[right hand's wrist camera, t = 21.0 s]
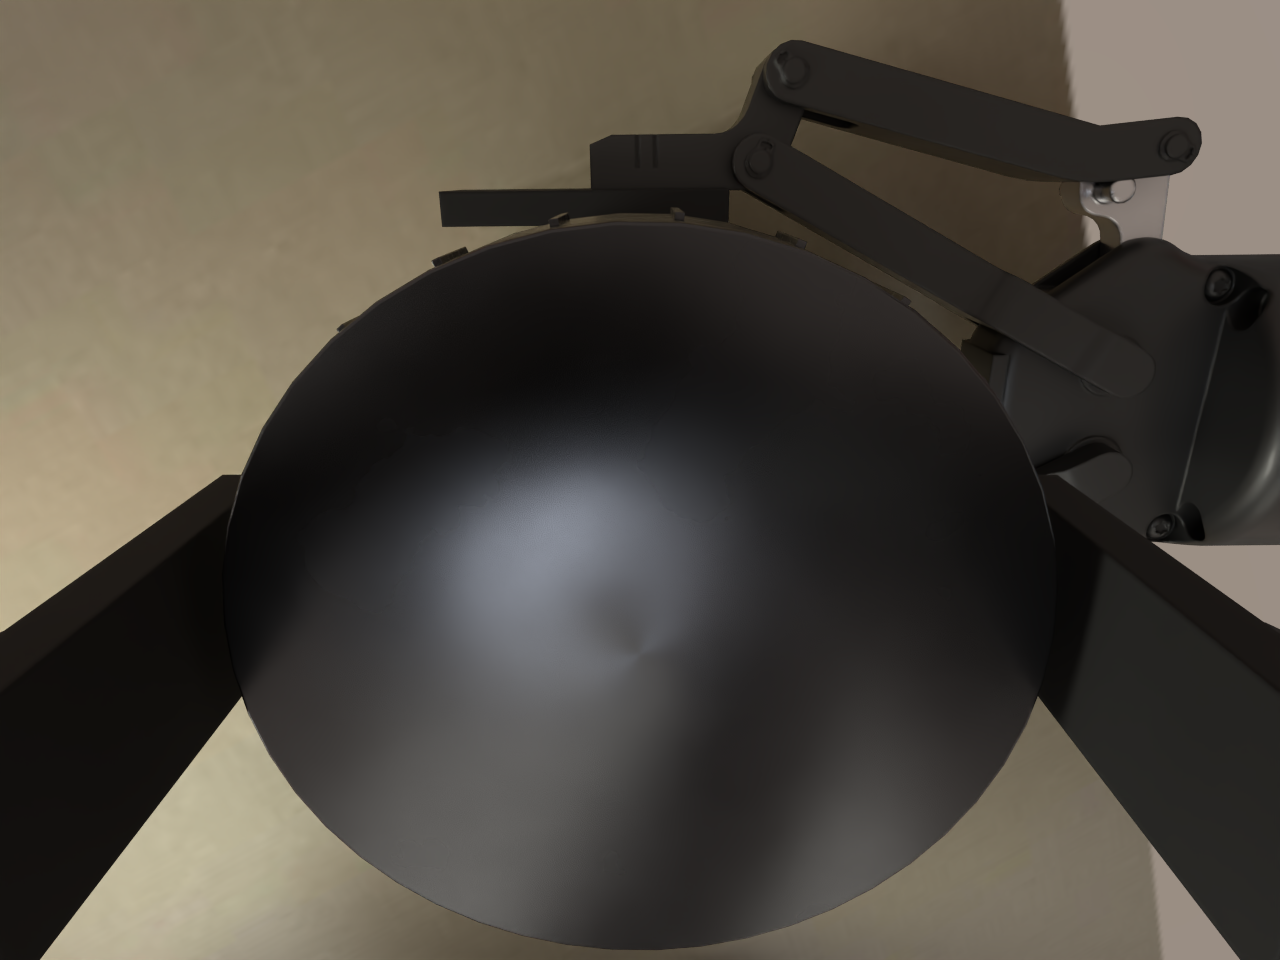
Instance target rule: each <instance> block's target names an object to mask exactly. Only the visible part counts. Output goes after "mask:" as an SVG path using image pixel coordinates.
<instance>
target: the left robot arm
mask: <svg viewBox="0 0 1280 960" xmlns="http://www.w3.org/2000/svg"><path fill="white" fill-rule="evenodd" d="M801 119H803V120H806V121H810V122H813V123H817V124H821V125H824V126H828V127H831V128H835V129H839V130H842V131H846V132H850V133H853V134H857V135H860V136H864V137H868V138H871V139H875V140H878V141H882V142H886V143H889V144H893V145H897V146H900V147H904V148H907V149H911V150H915V151H918V152H922V153H925V154H929V155H933V156H936V157H940V158H944V159H947V160H951V161H954V162H958V163H962V164H965V165H969V166H972V167H976V168H980V169H983V170H987V171H990V172H994V173H998V174H1001V175H1005V176H1009V177H1013V178H1018V179H1023V180H1028V181H1042V182H1061V185H1060V188H1059V193H1060V196H1061V200H1062V202H1063V205H1064V206H1065V207H1066V209H1067V210H1068V211H1070V212H1072V213H1074V214H1080V215H1085V216H1088V217H1090V218H1092V219H1093V220H1094V221H1095V222H1096V223H1097V225H1098V227H1099V230H1100V240H1099V241H1097V242H1095V243H1093V244H1091V245H1090V246H1088V247H1087V248H1085V249H1084V250H1082V251H1081V252H1079V253H1078V254H1076V255H1075V256H1073V257H1072V258H1070V259H1069V260H1067V261H1066V262H1064V263H1063V264H1062V265H1060V266H1059V267H1057V268H1056V269H1054V270H1053V271H1051V272H1050V273H1048V274H1047V275H1045V276H1044V277H1042V278H1041V279H1039V280H1038V281H1036V282H1035V283H1033V284H1032V285H1031V284H1029V283H1028V282H1026V281H1024V280H1022V279H1020V278H1018V277H1016V276H1014V275H1012V274H1010V273H1008V272H1005V271H1003V270H1001V269H999V268H997V267H995V266H994V265H992V264H990V263H989V262H987V261H985V260H983V259H982V258H980V257H978V256H977V255H975V254H973V253H972V252H970V251H968V250H966V249H965V248H963V247H961V246H960V245H958V244H956V243H955V242H953V241H951V240H950V239H948V238H946V237H944V236H943V235H941V234H939V233H938V232H936V231H934V230H933V229H931V228H929V227H927V226H926V225H924V224H922V223H921V222H919V221H917V220H916V219H914V218H912V217H910V216H909V215H907V214H905V213H904V212H902V211H900V210H899V209H897V208H895V207H893V206H892V205H890V204H888V203H887V202H885V201H883V200H882V199H880V198H878V197H876V196H875V195H873V194H871V193H870V192H868V191H866V190H865V189H863V188H861V187H859V186H858V185H856V184H854V183H853V182H851V181H849V180H848V179H846V178H844V177H843V176H841V175H839V174H837V173H836V172H834V171H832V170H831V169H829V168H827V167H826V166H824V165H822V164H820V163H819V162H817V161H815V160H814V159H812V158H810V157H809V156H807V155H805V154H803V153H802V152H800V151H798V150H797V149H795V148H793V147H792V146H791V144H792V141H793V139H794V136H795V133H796V131H797V128H798V126H799V123H800V120H801ZM1201 144H1202V139H1201V131H1200V129H1199V127H1198V125H1197V124H1196V123H1195V122H1194V121H1192V120H1190V119H1189V118H1184V117H1172V118H1163V119H1154V120H1145V121H1136V122H1127V123H1118V124H1110V125H1101V126H1100V125H1096V124H1092V123H1089V122H1085V121H1082V120H1079V119H1075V118H1072V117H1068V116H1065V115H1061V114H1058V113H1054V112H1051V111H1047V110H1044V109H1040V108H1037V107H1033V106H1030V105H1026V104H1023V103H1019V102H1016V101H1012V100H1009V99H1005V98H1002V97H998V96H995V95H991V94H988V93H984V92H981V91H977V90H974V89H970V88H967V87H963V86H960V85H956V84H953V83H949V82H946V81H942V80H939V79H935V78H932V77H928V76H925V75H921V74H918V73H914V72H911V71H907V70H904V69H900V68H897V67H893V66H890V65H886V64H883V63H879V62H876V61H872V60H869V59H865V58H862V57H858V56H855V55H851V54H848V53H844V52H841V51H837V50H834V49H830V48H827V47H823V46H820V45H816V44H813V43H809V42H806V41H801V40H790V41H788V42H785V43H783V44H781V45H779V46H778V47H777V48H776V49H775V50H774V51H773V52H771V53H770V54H769V55H768V56H767V57H766V58H765V59H764V60H763V61H762V62H761V63H760V64H759V65H758V66H757V68H756V70H755V72H754V74H753V76H752V84H751V86H750V89H749V92H748V95H747V97H746V100H745V103H744V106H743V108H742V111H741V114H740V116H739V118H738V120H737V121H736V122H735V124H734V125H733V126H732V127H731V128H730V129H729V130H727V131H725V132H723V133H716V134H657V135H653V134H650V135H610V136H608V137H606V138H604V139H601V140H599V141H597V142H595V143H593V144H590V169H591V189H501V190H456V191H442V192H439V198H440V209H441V219H442V227H471V226H544V225H547V224H549V221H548V220H549V219H551V218H553V217H555V216H557V215H560V214H563V213H569V217H570V219H575V218H583V217H592V216H600V215H608V214H616V213H642V214H670V208H671V207H674V208H679V209H680V210H682V211H683V212H684V213H685V216H689V217H696V218H702V219H709V220H715V221H721V222H728V215H729V190H742V191H743V192H745V193H747V194H749V195H750V196H752V197H754V198H756V199H757V200H759V201H761V202H763V203H764V204H766V205H768V206H770V207H771V208H773V209H775V210H777V211H778V212H780V213H782V214H784V215H785V216H787V217H789V218H791V219H793V220H794V221H796V222H798V223H800V224H801V225H803V226H805V227H807V228H808V229H810V230H812V231H814V232H815V233H817V234H819V235H821V236H822V237H824V238H826V239H828V240H829V241H831V242H833V243H835V244H836V245H838V246H840V247H842V248H843V249H845V250H847V251H849V252H850V253H852V254H854V255H856V256H857V257H859V258H861V259H863V260H864V261H866V262H868V263H870V264H871V265H873V266H875V267H877V268H878V269H880V270H882V271H884V272H885V273H887V274H889V275H891V276H892V277H894V278H896V279H898V280H899V281H901V282H903V283H905V284H906V285H908V286H910V287H912V288H913V289H915V290H917V291H919V292H920V293H922V294H924V295H926V296H927V297H929V298H931V299H932V300H934V301H935V302H937V303H938V304H940V305H942V306H943V307H945V308H947V309H948V310H950V311H952V312H954V313H955V314H957V315H959V316H961V317H962V318H964V319H966V320H968V321H969V322H971V323H973V324H975V325H976V326H978V327H977V328H976V330H975V331H974V333H973V335H972V337H971V339H967V340H962V346H961V352H962V353H963V354H964V356H965V357H966V358H967V359H968V360H969V362H970V363H971V364H972V365H973V367H974V368H975V369H976V370H977V371H978V373H979V374H980V375H982V376H983V377H984V378H985V379H986V380H987V382H988V385H989V386H990V387H991V388H992V389H993V391H994V392H995V393H996V395H997V396H998V398H999V400H1000V401H1001V403H1002V405H1003V406H1004V408H1005V410H1006V411H1007V413H1008V415H1009V416H1010V418H1011V420H1012V421H1013V423H1014V425H1015V426H1016V428H1017V430H1018V431H1019V433H1020V435H1021V437H1022V438H1023V440H1024V442H1025V445H1026V447H1027V450H1028V452H1029V455H1030V457H1031V460H1032V462H1033V465H1034V467H1035V470H1036V472H1037V475H1058V476H1060V477H1061V478H1062V479H1064V480H1065V481H1067V482H1068V483H1069V484H1071V485H1072V486H1074V487H1075V488H1076V489H1078V490H1079V491H1081V492H1082V493H1083V494H1085V495H1086V496H1088V497H1089V498H1090V499H1092V500H1093V501H1095V502H1096V503H1097V504H1099V505H1100V506H1102V507H1103V508H1104V509H1106V510H1107V511H1109V512H1110V513H1111V514H1113V515H1114V516H1116V517H1117V518H1118V519H1120V520H1121V521H1123V522H1124V523H1125V524H1127V525H1128V526H1130V527H1131V528H1132V529H1134V530H1135V531H1137V532H1138V533H1139V534H1141V535H1142V536H1144V537H1145V538H1146V539H1148V540H1149V541H1151V542H1163V543H1172V544H1183V545H1200V546H1208V545H1209V546H1213V545H1280V254H1264V255H1190V254H1188V253H1185V252H1183V251H1182V250H1180V249H1179V248H1177V247H1176V246H1175V245H1173V244H1171V243H1170V242H1168V241H1165V240H1162V235H1163V226H1164V218H1165V210H1166V202H1167V194H1168V186H1169V177H1170V175H1173V174H1176V173H1180V172H1182V171H1183V170H1185V169H1186V168H1187V167H1189V166H1190V165H1191V164H1192V163H1193V161H1194V160H1195V158H1196V157H1197V156H1198V153H1199V150H1200V147H1201Z"/></svg>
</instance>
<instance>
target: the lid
mask: <svg viewBox="0 0 1280 960" xmlns="http://www.w3.org/2000/svg"><path fill="white" fill-rule="evenodd" d="M548 221H549V224H547V225H544V226H540V227H536V228H532V229H528V230H525V231H521V232H517V233H514V234H511V235H509V236H507V237H504V238H502V239H499V240H497V241H495V242H492V243H490V244H488V245H485V246H483V247H480V248H478V249H476V250H473V251H471V252H469V253H468V250H467V249H466V247H463V248H460V249H458V250H455V251H453V252H450V253H448V254H445V255H443V256H440V257H438V258H436V259H434V260H432V263H433V265H434V268H432V269H430V270H428V271H426V272H425V273H423V274H421V275H420V276H418V277H416V278H415V279H413V280H411V281H410V282H408V283H406V284H405V285H403V286H401V287H400V288H398V289H396V290H395V291H393V292H391V293H390V294H388V295H386V296H385V297H383V298H382V299H380V300H378V301H377V302H375V303H374V304H373V305H372V306H370V307H369V308H368V309H367V310H366V311H364V312H363V313H362V314H361V315H360V316H358V317H356V318H353V319H351V320H349V321H347V322H345V323H343V324H342V325H341V326H340V327H338V328H337V331H338V332H339V333H338V334H336V335H335V336H334V337H333V338H332V339H330V341H329V342H328V343H327V344H326V345H325V346H324V347H323V348H322V349H321V351H320V352H319V353H318V354H317V355H316V356H315V357H314V358H313V360H312V361H311V362H310V363H309V364H308V365H307V366H306V367H305V368H304V370H303V371H302V372H301V373H300V374H299V375H298V376H297V377H296V378H295V380H294V381H293V382H292V383H291V385H290V386H289V388H288V389H287V391H286V392H285V394H284V396H283V397H282V399H281V400H280V402H279V403H278V405H277V406H276V408H275V409H274V411H273V412H272V414H271V415H270V417H269V419H268V420H267V422H266V423H265V425H264V426H263V428H262V430H261V432H260V434H259V437H258V439H257V441H256V443H255V445H254V448H253V450H252V452H251V454H250V457H249V459H248V461H247V463H246V465H245V468H244V470H243V472H242V474H241V477H240V481H239V484H238V488H237V492H236V495H235V499H234V503H233V506H232V510H231V514H230V517H229V521H228V525H227V533H226V542H225V551H224V560H223V569H222V592H223V615H224V627H225V632H226V637H227V642H228V648H229V653H230V658H231V663H232V668H233V672H234V675H235V678H236V680H237V683H238V686H239V689H240V692H241V695H242V697H243V700H244V703H245V706H246V709H247V712H248V714H249V716H250V718H251V720H252V722H253V724H254V726H255V728H256V730H257V732H258V734H259V736H260V738H261V740H262V742H263V744H264V746H265V748H266V749H267V751H268V753H269V755H270V757H271V758H272V760H273V761H274V762H275V764H276V765H277V767H278V768H279V770H280V771H281V773H282V774H283V775H284V777H285V778H286V780H287V781H288V783H289V784H290V786H291V787H292V788H293V790H294V791H295V793H296V794H297V795H298V796H299V797H300V798H301V799H302V801H303V802H304V803H305V804H306V805H307V806H308V807H309V808H310V810H311V811H312V812H313V813H314V814H315V815H316V816H317V817H318V818H319V820H320V821H321V822H322V823H323V824H324V825H325V826H326V827H327V828H328V829H329V830H330V831H331V832H332V833H334V834H335V835H336V836H337V837H338V838H339V839H340V840H342V841H343V842H344V843H345V844H346V845H347V846H348V847H349V848H351V849H352V850H353V851H354V852H355V853H356V854H357V855H359V856H360V857H361V858H363V859H364V860H365V861H367V862H368V863H370V864H371V865H373V866H374V867H375V868H377V869H378V870H380V871H381V872H383V873H384V874H385V875H387V876H388V877H390V878H391V879H393V880H394V881H395V882H397V883H399V884H400V885H402V886H404V887H406V888H408V889H410V890H411V891H413V892H415V893H417V894H419V895H420V896H422V897H424V898H426V899H428V900H430V901H431V902H433V903H435V904H437V905H439V906H442V907H444V908H446V909H449V910H451V911H453V912H456V913H458V914H460V915H463V916H465V917H468V918H470V919H472V920H475V921H477V922H480V923H483V924H486V925H489V926H493V927H496V928H499V929H502V930H506V931H509V932H512V933H515V934H519V935H522V936H527V937H532V938H536V939H541V940H546V941H551V942H556V943H561V944H566V945H575V946H584V947H593V948H603V949H617V950H662V949H675V948H687V947H699V946H706V945H712V944H717V943H723V942H728V941H734V940H739V939H745V938H749V937H753V936H756V935H760V934H763V933H767V932H770V931H774V930H777V929H781V928H784V927H788V926H791V925H794V924H796V923H799V922H801V921H804V920H806V919H809V918H812V917H814V916H817V915H819V914H822V913H824V912H827V911H829V910H832V909H834V908H836V907H838V906H840V905H842V904H844V903H846V902H848V901H849V900H851V899H853V898H855V897H857V896H859V895H861V894H863V893H865V892H867V891H869V890H871V889H873V888H874V887H876V886H877V885H879V884H880V883H882V882H883V881H885V880H886V879H888V878H889V877H891V876H892V875H894V874H895V873H897V872H899V871H900V870H902V869H903V868H905V867H906V866H908V865H909V864H911V863H912V862H913V861H914V860H915V859H917V858H918V857H919V856H920V855H921V854H923V853H924V852H925V851H926V850H927V849H929V848H930V847H931V846H932V845H934V844H935V843H936V842H937V841H938V840H940V839H941V838H942V837H943V836H944V835H946V833H947V832H948V831H949V830H950V829H951V828H952V827H953V826H954V825H955V824H956V823H957V822H958V821H959V820H960V819H961V818H962V817H963V816H964V815H965V814H966V812H967V811H968V810H969V809H970V808H971V807H972V806H973V805H974V804H975V803H976V802H977V801H978V799H979V798H980V797H981V795H982V794H983V793H984V791H985V790H986V789H987V787H988V786H989V785H990V783H991V782H992V780H993V779H994V778H995V776H996V775H997V774H998V772H999V771H1000V770H1001V768H1002V767H1003V766H1004V764H1005V762H1006V760H1007V759H1008V757H1009V755H1010V753H1011V752H1012V750H1013V748H1014V746H1015V744H1016V743H1017V741H1018V739H1019V737H1020V735H1021V734H1022V732H1023V730H1024V728H1025V726H1026V725H1027V722H1028V719H1029V717H1030V714H1031V712H1032V709H1033V707H1034V704H1035V702H1036V699H1037V697H1038V694H1039V691H1040V689H1041V686H1042V684H1043V681H1044V677H1045V672H1046V668H1047V664H1048V660H1049V655H1050V651H1051V647H1052V643H1053V638H1054V630H1055V618H1056V606H1057V594H1058V581H1057V567H1056V552H1055V539H1054V534H1053V530H1052V525H1051V521H1050V516H1049V512H1048V508H1047V503H1046V499H1045V495H1044V490H1043V487H1042V485H1041V482H1040V480H1039V477H1038V475H1037V472H1036V470H1035V467H1034V465H1033V462H1032V460H1031V457H1030V455H1029V452H1028V450H1027V447H1026V445H1025V442H1024V440H1023V438H1022V437H1021V435H1020V433H1019V431H1018V430H1017V428H1016V426H1015V425H1014V423H1013V421H1012V420H1011V418H1010V416H1009V415H1008V413H1007V411H1006V410H1005V408H1004V406H1003V405H1002V403H1001V401H1000V400H999V398H998V396H997V395H996V393H995V392H994V391H993V389H992V388H991V387H990V386H989V385H988V382H987V380H986V379H985V378H984V377H983V376H982V375H980V374H979V373H978V371H977V370H976V369H975V368H974V367H973V365H972V364H971V363H970V362H969V360H968V359H967V358H966V357H965V356H964V354H963V353H962V352H961V351H960V350H959V349H958V348H957V347H956V346H955V345H954V344H953V343H951V342H950V341H949V340H948V339H947V338H946V337H945V336H944V335H942V334H941V333H940V332H939V331H938V330H937V329H936V328H935V327H933V326H932V325H931V324H930V323H929V322H928V321H927V320H926V319H924V318H923V317H922V316H921V315H920V314H919V313H918V312H917V311H915V310H914V309H912V308H911V307H909V306H908V305H909V304H910V303H911V301H910V300H909V299H908V298H906V297H905V296H903V295H900V294H898V293H896V292H894V291H891V290H889V289H887V288H885V287H883V286H880V285H878V284H876V283H874V282H871V281H870V280H868V279H867V278H865V277H863V276H861V275H859V274H857V273H854V272H852V271H850V270H848V269H846V268H844V267H842V266H839V265H837V264H835V263H833V262H831V261H829V260H826V259H824V258H822V257H820V256H818V255H816V254H814V253H811V252H809V251H807V250H805V246H806V244H807V242H806V241H803V240H801V239H798V238H796V237H793V236H790V235H788V234H785V233H783V232H780V231H777V234H776V236H775V237H774V236H770V235H767V234H764V233H760V232H757V231H754V230H751V229H747V228H744V227H741V226H737V225H734V224H731V223H728V222H721V221H715V220H709V219H702V218H696V217H689V216H685V213H684V212H683V211H682V210H680V209H679V208H674V207H671V208H670V214H642V213H616V214H608V215H600V216H592V217H583V218H575V219H570V217H569V213H563V214H560V215H557V216H555V217H553V218H551V219H549V220H548Z"/></svg>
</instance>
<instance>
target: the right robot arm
mask: <svg viewBox="0 0 1280 960" xmlns="http://www.w3.org/2000/svg"><path fill="white" fill-rule="evenodd" d="M240 477H241V475H222V476H220V477H219V478H218V479H216V480H215V481H213V482H212V483H211V484H209V485H208V486H206V487H205V488H204V489H202V490H201V491H199V492H198V493H197V494H195V495H194V496H192V497H191V498H190V499H188V500H187V501H185V502H184V503H183V504H181V505H180V506H178V507H177V508H176V509H174V510H173V511H171V512H170V513H169V514H167V515H166V516H164V517H163V518H162V519H160V520H159V521H157V522H156V523H155V524H153V525H152V526H150V527H149V528H148V529H146V530H145V531H143V532H142V533H141V534H139V535H138V536H136V537H135V538H134V539H132V540H131V541H129V542H128V543H127V544H125V545H124V546H122V547H121V548H120V549H118V550H117V551H115V552H114V553H113V554H111V555H110V556H108V557H107V558H106V559H104V560H103V561H101V562H100V563H99V564H97V565H96V566H94V567H93V568H92V569H90V570H89V571H87V572H86V573H85V574H83V575H82V576H80V577H79V578H78V579H76V580H75V581H73V582H72V583H71V584H69V585H68V586H66V587H65V588H64V589H62V590H61V591H59V592H58V593H57V594H55V595H54V596H52V597H51V598H49V599H48V600H47V601H45V602H44V603H42V604H41V605H40V606H38V607H37V608H35V609H34V610H33V611H31V612H30V613H28V614H27V615H26V616H24V617H23V618H21V619H20V620H19V621H17V622H16V623H14V624H13V625H12V626H10V627H9V628H7V629H6V630H5V631H3V632H1V633H0V960H40V959H41V957H42V956H43V955H44V954H45V952H46V951H47V950H48V948H49V947H50V946H51V944H52V943H53V942H54V940H55V939H56V938H57V937H58V935H59V934H60V933H61V931H62V930H63V929H64V927H65V926H66V925H67V924H68V922H69V921H70V920H71V918H72V917H73V916H74V914H75V913H76V912H77V910H78V909H79V908H80V907H81V905H82V904H83V903H84V901H85V900H86V899H87V897H88V896H89V895H90V894H91V892H92V891H93V890H94V888H95V887H96V886H97V884H98V883H99V882H100V880H101V879H102V878H103V877H104V875H105V874H106V873H107V871H108V870H109V869H110V867H111V866H112V865H113V864H114V862H115V861H116V860H117V858H118V857H119V856H120V854H121V853H122V852H123V851H124V849H125V848H126V847H127V845H128V844H129V843H130V841H131V840H132V839H133V837H134V836H135V835H136V834H137V832H138V831H139V830H140V828H141V827H142V826H143V824H144V823H145V822H146V821H147V819H148V818H149V817H150V815H151V814H152V813H153V811H154V810H155V809H156V807H157V806H158V805H159V804H160V802H161V801H162V800H163V798H164V797H165V796H166V794H167V793H168V792H169V791H170V789H171V788H172V787H173V785H174V784H175V783H176V781H177V780H178V779H179V777H180V776H181V775H182V774H183V772H184V771H185V770H186V768H187V767H188V766H189V764H190V763H191V762H192V761H193V759H194V758H195V757H196V755H197V754H198V753H199V751H200V750H201V749H202V747H203V746H204V745H205V744H206V742H207V741H208V740H209V738H210V737H211V736H212V734H213V733H214V732H215V731H216V729H217V728H218V727H219V725H220V724H221V723H222V721H223V720H224V719H225V718H226V716H227V715H228V714H229V712H230V711H231V710H232V708H233V707H234V706H235V704H236V703H237V702H238V701H239V699H240V698H241V697H242V695H241V692H240V689H239V686H238V683H237V680H236V678H235V675H234V672H233V668H232V663H231V658H230V653H229V648H228V642H227V637H226V632H225V627H224V615H223V592H222V569H223V560H224V551H225V542H226V533H227V525H228V521H229V517H230V514H231V510H232V506H233V503H234V499H235V495H236V492H237V488H238V484H239V481H240ZM1038 477H1039V480H1040V482H1041V485H1042V487H1043V490H1044V495H1045V499H1046V503H1047V508H1048V512H1049V516H1050V521H1051V525H1052V530H1053V534H1054V539H1055V552H1056V567H1057V581H1058V594H1057V606H1056V618H1055V630H1054V638H1053V643H1052V647H1051V651H1050V655H1049V660H1048V664H1047V668H1046V672H1045V677H1044V681H1043V684H1042V686H1041V689H1040V691H1039V694H1038V697H1039V698H1040V699H1041V701H1042V702H1043V703H1044V704H1045V706H1046V707H1047V708H1048V710H1049V711H1050V712H1051V714H1052V715H1053V716H1054V718H1055V719H1056V720H1057V721H1058V723H1059V724H1060V725H1061V727H1062V728H1063V729H1064V731H1065V732H1066V733H1067V734H1068V736H1069V737H1070V738H1071V740H1072V741H1073V742H1074V744H1075V745H1076V746H1077V747H1078V749H1079V750H1080V751H1081V753H1082V754H1083V755H1084V757H1085V758H1086V759H1087V761H1088V762H1089V763H1090V764H1091V766H1092V767H1093V768H1094V770H1095V771H1096V772H1097V774H1098V775H1099V776H1100V777H1101V779H1102V780H1103V781H1104V783H1105V784H1106V785H1107V787H1108V788H1109V789H1110V791H1111V792H1112V793H1113V794H1114V796H1115V797H1116V798H1117V800H1118V801H1119V802H1120V804H1121V805H1122V806H1123V807H1124V809H1125V810H1126V811H1127V813H1128V814H1129V815H1130V817H1131V818H1132V819H1133V821H1134V822H1135V823H1136V824H1137V826H1138V827H1139V828H1140V830H1141V831H1142V832H1143V834H1144V835H1145V836H1146V837H1147V839H1148V840H1149V841H1150V843H1151V844H1152V845H1153V847H1154V848H1155V849H1156V851H1157V852H1158V853H1159V854H1160V856H1161V857H1162V858H1163V860H1164V861H1165V862H1166V864H1167V865H1168V866H1169V867H1170V869H1171V870H1172V871H1173V873H1174V874H1175V875H1176V877H1177V878H1178V879H1179V880H1180V882H1181V883H1182V884H1183V886H1184V887H1185V888H1186V890H1187V891H1188V892H1189V894H1190V895H1191V896H1192V897H1193V899H1194V900H1195V901H1196V903H1197V904H1198V905H1199V906H1200V908H1201V909H1202V910H1203V912H1204V913H1205V914H1206V916H1207V917H1208V918H1209V920H1210V921H1211V922H1212V923H1213V925H1214V926H1215V927H1216V929H1217V930H1218V931H1219V933H1220V934H1221V935H1222V937H1223V938H1224V939H1225V940H1226V942H1227V943H1228V944H1229V946H1230V947H1231V948H1232V950H1233V951H1234V952H1235V954H1236V955H1237V956H1238V957H1239V959H1240V960H1280V629H1278V628H1276V627H1274V626H1272V625H1269V624H1267V623H1265V622H1263V621H1261V620H1260V619H1259V618H1257V617H1256V616H1254V615H1253V614H1252V613H1250V612H1249V611H1247V610H1246V609H1245V608H1243V607H1242V606H1240V605H1239V604H1238V603H1236V602H1235V601H1233V600H1232V599H1230V598H1229V597H1228V596H1226V595H1225V594H1223V593H1222V592H1221V591H1219V590H1218V589H1216V588H1215V587H1214V586H1212V585H1211V584H1209V583H1208V582H1207V581H1205V580H1204V579H1202V578H1201V577H1200V576H1198V575H1197V574H1195V573H1194V572H1193V571H1191V570H1190V569H1188V568H1187V567H1186V566H1184V565H1183V564H1181V563H1180V562H1179V561H1177V560H1176V559H1174V558H1173V557H1172V556H1170V555H1169V554H1167V553H1166V552H1165V551H1163V550H1162V549H1160V548H1159V547H1158V546H1156V545H1155V544H1153V543H1152V542H1151V541H1149V540H1148V539H1146V538H1145V537H1144V536H1142V535H1141V534H1139V533H1138V532H1137V531H1135V530H1134V529H1132V528H1131V527H1130V526H1128V525H1127V524H1125V523H1124V522H1123V521H1121V520H1120V519H1118V518H1117V517H1116V516H1114V515H1113V514H1111V513H1110V512H1109V511H1107V510H1106V509H1104V508H1103V507H1102V506H1100V505H1099V504H1097V503H1096V502H1095V501H1093V500H1092V499H1090V498H1089V497H1088V496H1086V495H1085V494H1083V493H1082V492H1081V491H1079V490H1078V489H1076V488H1075V487H1074V486H1072V485H1071V484H1069V483H1068V482H1067V481H1065V480H1064V479H1062V478H1061V477H1060V476H1058V475H1038Z"/></svg>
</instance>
